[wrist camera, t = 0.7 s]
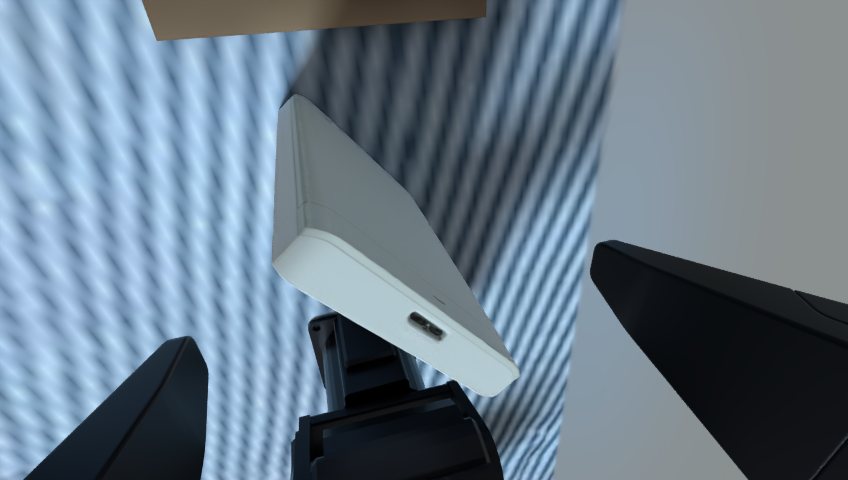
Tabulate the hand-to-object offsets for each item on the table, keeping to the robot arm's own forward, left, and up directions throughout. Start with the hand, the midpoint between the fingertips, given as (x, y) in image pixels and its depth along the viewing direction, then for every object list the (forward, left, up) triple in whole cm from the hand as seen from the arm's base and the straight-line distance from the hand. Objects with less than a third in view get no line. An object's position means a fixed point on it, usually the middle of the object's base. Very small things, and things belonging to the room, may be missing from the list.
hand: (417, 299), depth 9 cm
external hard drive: (-2, 0, -13) cm, 13 cm away
